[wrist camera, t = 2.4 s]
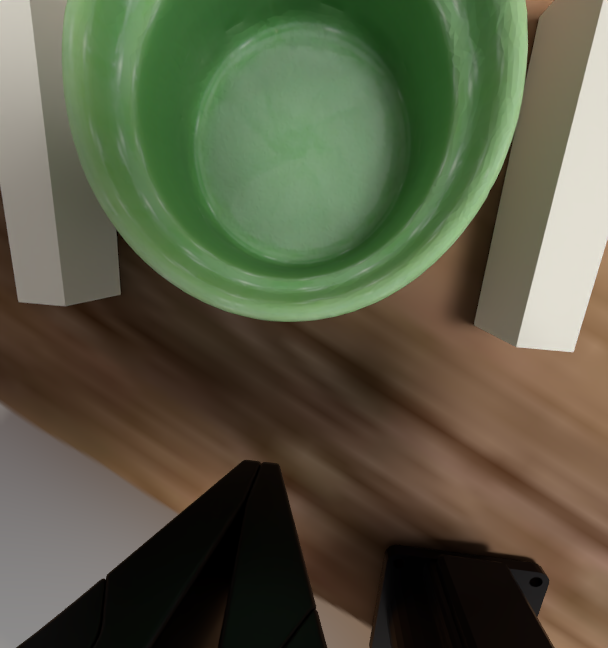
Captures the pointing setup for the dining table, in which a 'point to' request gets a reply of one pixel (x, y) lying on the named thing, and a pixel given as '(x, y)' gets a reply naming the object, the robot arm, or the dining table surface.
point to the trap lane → (512, 218)
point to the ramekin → (292, 138)
